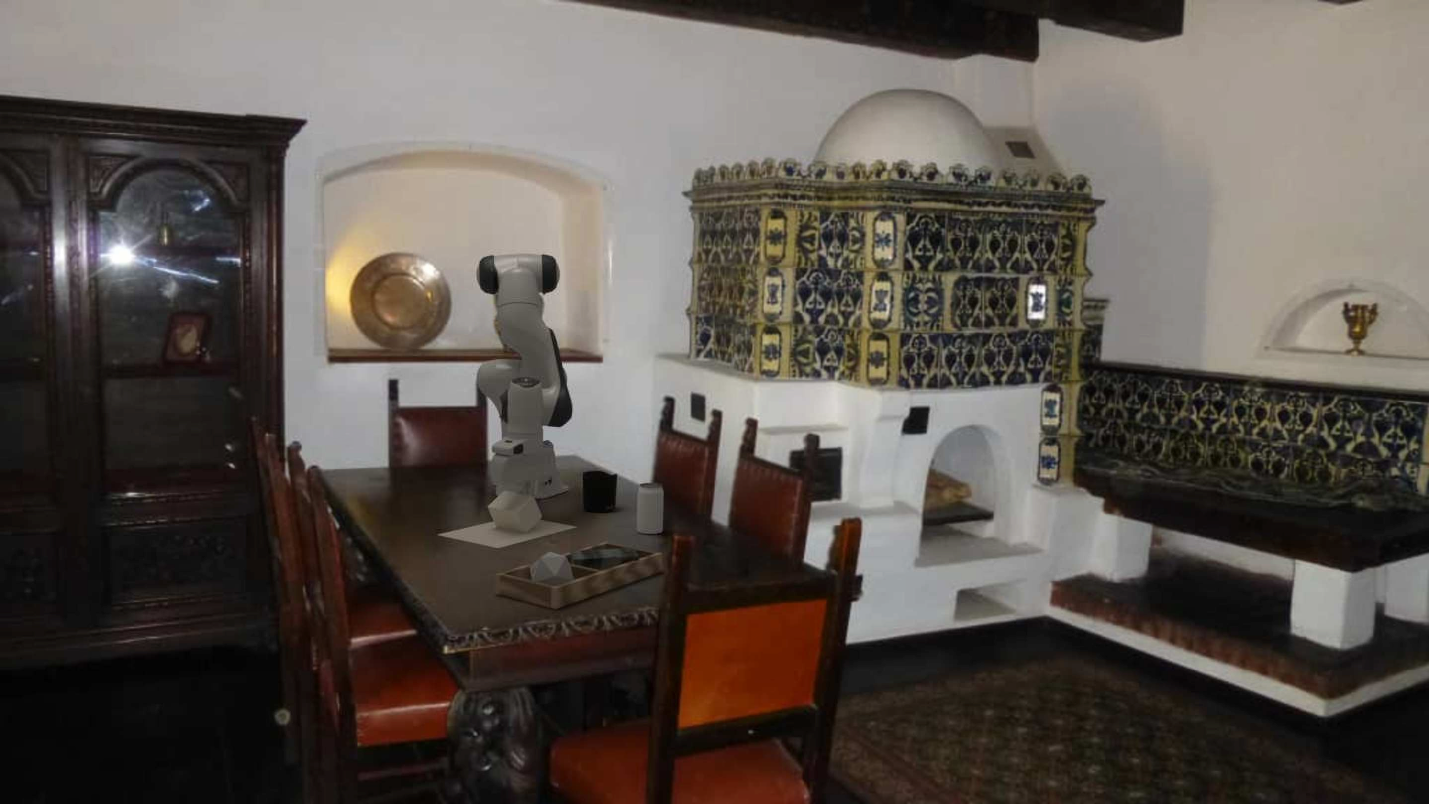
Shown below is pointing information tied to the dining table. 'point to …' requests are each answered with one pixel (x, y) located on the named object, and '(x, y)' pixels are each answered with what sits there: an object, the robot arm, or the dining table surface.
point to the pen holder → (599, 491)
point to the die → (551, 569)
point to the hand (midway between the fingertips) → (524, 498)
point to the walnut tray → (577, 579)
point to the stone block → (603, 557)
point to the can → (650, 508)
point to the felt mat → (504, 533)
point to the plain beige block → (515, 511)
